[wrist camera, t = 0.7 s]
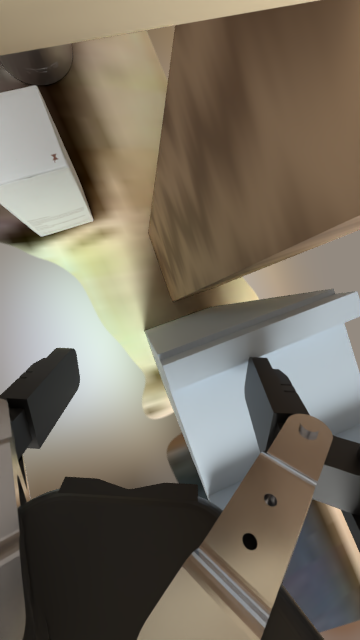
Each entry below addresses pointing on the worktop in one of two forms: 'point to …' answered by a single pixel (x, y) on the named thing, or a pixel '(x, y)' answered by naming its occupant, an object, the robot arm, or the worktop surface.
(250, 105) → the walnut block
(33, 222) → the supplement box
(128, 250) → the worktop surface
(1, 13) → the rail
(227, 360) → the holder
